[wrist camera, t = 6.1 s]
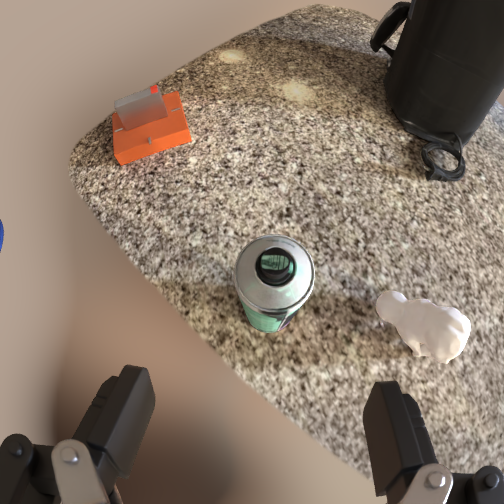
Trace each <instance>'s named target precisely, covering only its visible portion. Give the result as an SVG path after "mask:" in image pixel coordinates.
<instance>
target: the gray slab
mask: <svg viewBox="0 0 504 504" xmlns="http://www.w3.org/2000/svg"><path fill="white" fill-rule="evenodd" d="M115 110H116V112H117V113H118V115H119V117H120V119H121V121H122V123H123V125H124V127H125V128H126V130H127V131H128V130H131V129H133V128H136V127H139V126H141V125H144V124H147V123H150V122H153V121H156V120H158V119H161V118H164V117H167V116H168V113H167V109H166V106H165V103H164V101H163V98H162V95H161V92H160V89H159V86H158V85H155V86H152V87H150V88H148V89H145V90H143V91H140V92H137V93H135V94H132V95H129V96H127V97H124V98H121V99H119V100H117V101H115Z"/></svg>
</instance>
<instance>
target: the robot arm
mask: <svg viewBox="0 0 504 504" xmlns="http://www.w3.org/2000/svg"><path fill="white" fill-rule="evenodd" d="M154 407H155V394H154V390H153V387H152V383H151V379H150V376H149V372H148V370H147V368H144V367H138V366H132V365H126V366H124V368H123V370H122V371H121V373H120V375H119V377H117V376H112V377H110V378H109V379H108V380H107V381H105V382H104V383H103V384H102V385H101V387H100V389H99V391H98V392H97V394H96V397H95V398H94V399H93V401H92V405H90V406H89V408H88V410H87V412H86V414H85V416H84V417H83V419H82V421H81V423H80V425H79V427H78V428H77V430H76V432H75V434H74V436H73V437H72V438H71V439H68V440H64V441H61V442H60V443H58V444H57V445H56V446H45V445H36V444H32V443H31V442H30V440H29V439H28V438H27V437H26V436H24V435H22V434H12V435H10V436H8V437H7V438H6V439H5V440H4V441H3V443H2V445H1V446H0V504H60V503H61V501H62V504H123V502H122V500H121V497H120V495H119V493H118V490H117V488H116V485H115V482H116V480H117V477H118V476H119V477H122V478H125V479H128V477H129V475H130V472H131V469H132V466H133V464H134V461H135V458H136V455H137V452H138V450H139V447H140V445H141V442H142V439H143V437H144V434H145V431H146V429H147V426H148V424H149V421H150V418H151V415H152V413H153V410H154ZM363 425H364V430H365V435H366V440H367V445H368V451H369V456H370V462H371V467H372V473H373V479H374V485H375V492H376V496H377V497H378V496H384V495H386V496H387V503H386V504H504V475H503V473H502V472H501V471H500V469H498V468H497V467H495V466H484V467H482V468H481V469H479V470H478V471H477V472H476V473H475V474H460V473H451V472H450V471H449V469H448V468H447V467H445V466H443V465H441V464H439V463H438V461H437V459H436V456H435V453H434V449H433V446H432V443H431V440H430V437H429V434H428V431H427V429H426V427H425V423H424V420H423V417H421V412H420V409H419V406H418V404H417V402H416V401H415V400H414V399H413V398H412V397H411V396H410V395H409V394H402V392H401V390H400V387H399V384H398V382H397V381H383V382H376V383H375V384H374V386H373V388H372V391H371V393H370V395H369V398H368V400H367V403H366V405H365V407H364V411H363Z"/></svg>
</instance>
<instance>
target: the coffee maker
mask: <svg viewBox="0 0 504 504" xmlns="http://www.w3.org/2000/svg"><path fill="white" fill-rule="evenodd" d="M406 18H407V20H406ZM405 20H406V22H405V25H404V28H403V31H402V33H401V36H400V39H399V42H398V45H397V47H396V50H392V49H391V48H389V47H387V46H386V45H385V42H386V41H387V40H388V39H389V38H390V37H391V36H392V34H393V33H394V32H395V31H396V30H397V29H398V27H399V26H400V25H401V24H402V23H403V22H404V21H405ZM370 46H371V48H372V50H373V51H374V52H375V53H376V52H378V51H379V49H380V48H381V47H382V48H383V49H384V50H385V51H386V52H387V53H388V54H389V55H390V56H391V58H389V59H388V60H387V73H386V76H385V78H384V80H383V82H384V84H385V89H386V93H387V99H388V101H389V103H390V105H391V107H392V110H393V111H394V113H395V115H396V116H397V119H398V120H399V121H400V122H401V123H402V124H403V126H404V127H405V128H404V129H405V130H406V131H407V132H409V133H411V134H415V135H416V136H418V137H420V138H423V139H425V140H427V141H429V142H430V143H428V144H426V145H424V147H423V148H422V151H421V156H422V159H423V161H424V163H425V164H426V165H427V166H425V165H423V168H424V169H425V170H427V171H426V172H425V175H426V179H427V181H429V180H430V179H432V180H438V181H440V180H441V181H444V182H447V181H458V180H460V179H461V178H462V177H463V175H464V173H465V168H466V167H465V161H464V158H463V156H462V148H463V147H464V145H466V144H467V143H468V141H469V140H470V138H471V137H472V136H473V134H474V133H475V131H476V130H477V129H478V127H479V126H480V124H481V123H482V121H483V120H484V118H485V117H486V115H487V113H488V112H489V110H490V109H491V107H492V106H493V104H494V103H495V101H496V99H497V98H498V96H499V95H500V93H501V92H502V90H503V88H504V0H412V1H411V3H409V2H398V3H396V4H395V5H394V6H393V7H392V8H391V9H390V10H389V11H388V12H387V13H386V14H385V15H384V17H383V18H382V19H381V21H380V22H379V24H378V25H377V27H376V29H375V31H374V33H373V36H372V37H371V40H370ZM433 149H442V150H445V151H447V152H449V153H451V154H452V155H453V156H455V157H456V158H457V160H458V167H457V168H456V169H455V170H453V171H447V170H444V169H441V168H439V167H438V166H437V165H436V164H434V163H433V162H432V161H431V159H430V158H429V156H428V151H430V150H433ZM459 151H460V153H459Z"/></svg>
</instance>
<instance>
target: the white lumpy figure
mask: <svg viewBox="0 0 504 504" xmlns="http://www.w3.org/2000/svg"><path fill="white" fill-rule="evenodd" d="M376 311H377V313H378V315H379V316H380V323H381V325H383V322H384V321H386V322H389V323H392V324H393V325H395V327H396V329H397V331H398V333H399V335H400V336H401V338H402V340H403V341H404V342H405V343H406V344H407V345H408V346H409V347H410V348H411V349H412V350H413V353H412V354H413V356H415V357H420V356H428V357H432V358H434V359H435V360H436V361H437V362H441V363H446V364H447V363H448V362H449V360H451V359H453V358H455V357H456V356H458V355H459V354H460V352H461V351H462V350H463V348H464V346H465V344H466V341H467V339H468V336H469V334H470V321H469V319H468V318H467V317H466V316H464V315H463V314H461V313H460V312H459V311H458V310H457V309H456V308H454V307H448V306H436V305H435V304H434V303H431V302H430V301H429V300H427V299H415V300H413V299H412V300H407V299H406V298H405V297H404V296H403V295H402V294H401V293H399V292H397V291H393V290H390V291H386V292H384V293H382V294H381V295H380V296H379V297H378V299H377V301H376ZM383 320H384V321H383ZM386 322H385V323H386ZM385 325H386V324H385ZM383 327H384V325H383ZM420 343H424V344H421V345H420Z"/></svg>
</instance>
